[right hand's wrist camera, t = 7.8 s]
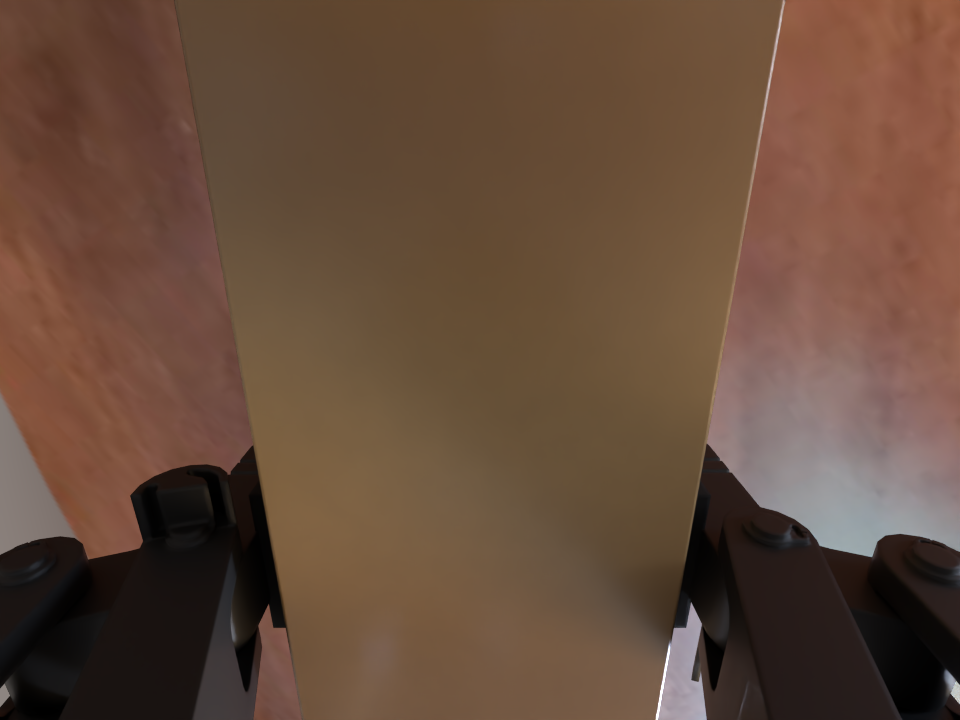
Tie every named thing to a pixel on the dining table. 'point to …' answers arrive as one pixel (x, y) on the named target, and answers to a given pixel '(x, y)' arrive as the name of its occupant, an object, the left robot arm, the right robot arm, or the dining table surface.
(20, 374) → the dining table surface
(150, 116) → the dining table surface
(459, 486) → the bar
